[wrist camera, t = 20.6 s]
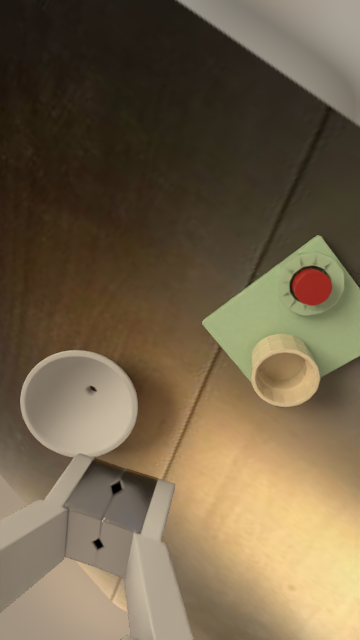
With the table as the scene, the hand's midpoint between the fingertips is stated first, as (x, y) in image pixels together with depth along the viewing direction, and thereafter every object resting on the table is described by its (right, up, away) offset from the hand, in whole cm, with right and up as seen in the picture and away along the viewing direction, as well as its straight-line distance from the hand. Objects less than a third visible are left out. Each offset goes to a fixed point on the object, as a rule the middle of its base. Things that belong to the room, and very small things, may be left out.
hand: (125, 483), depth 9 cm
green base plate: (+14, +4, +25) cm, 29 cm away
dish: (-10, -4, +33) cm, 35 cm away
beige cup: (+13, 0, +25) cm, 28 cm away
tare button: (+14, +8, +20) cm, 26 cm away
